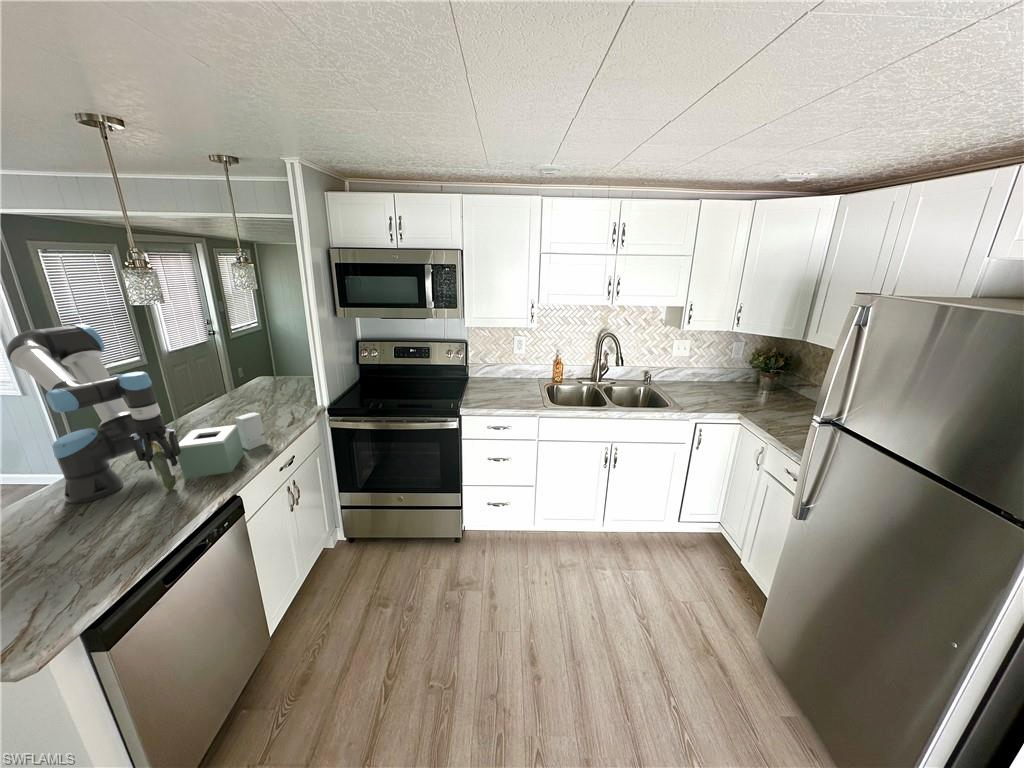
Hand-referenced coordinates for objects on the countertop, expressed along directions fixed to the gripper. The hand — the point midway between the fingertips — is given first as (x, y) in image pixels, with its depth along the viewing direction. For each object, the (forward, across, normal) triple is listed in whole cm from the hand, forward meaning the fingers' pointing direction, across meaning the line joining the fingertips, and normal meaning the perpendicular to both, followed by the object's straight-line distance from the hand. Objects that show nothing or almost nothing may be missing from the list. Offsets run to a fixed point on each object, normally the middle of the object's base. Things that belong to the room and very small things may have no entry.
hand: (166, 474), depth 147 cm
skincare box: (+7, +19, +32) cm, 38 cm away
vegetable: (+7, 0, 0) cm, 7 cm away
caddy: (+7, +9, +16) cm, 20 cm away
